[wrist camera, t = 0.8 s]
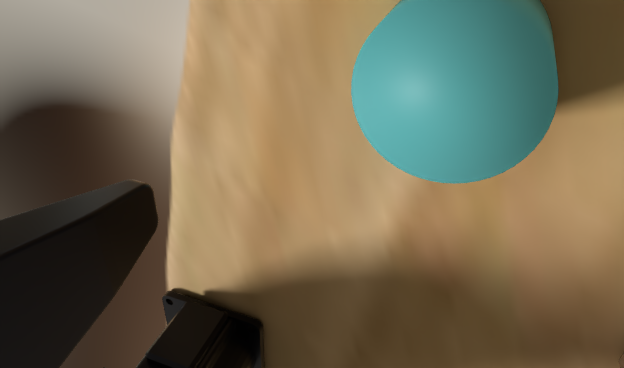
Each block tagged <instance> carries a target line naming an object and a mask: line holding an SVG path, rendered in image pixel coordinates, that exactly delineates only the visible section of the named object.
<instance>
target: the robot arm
mask: <svg viewBox="0 0 624 368" xmlns="http://www.w3.org/2000/svg"><path fill="white" fill-rule="evenodd" d="M157 225H158V214H157V209H156V203H155V197H154V192H153V189H152V187H151V186H150V185H149V184H147V183H144V182H140V181H136V180H125V181H122V182H119V183H116V184H113V185H109V186H106V187H103V188H100V189H97V190H94V191H91V192H87V193H84V194H81V195H78V196H75V197H72V198H69V199H65V200H62V201H59V202H56V203H53V204H49V205H46V206H43V207H40V208H37V209H33V210H30V211H27V212H24V213H21V214H18V215H15V216H11V217H8V218H5V219H2V220H0V368H59V367H60V366H61V365H62V364H63V362H64V361H65V360H66V358H67V357H68V356H69V355H70V353H71V352H72V351H73V349H74V348H75V347H76V346H77V344H78V343H79V342H80V340H81V339H82V338H83V337H84V335H85V334H86V333H87V331H88V330H89V329H90V327H91V326H92V325H93V324H94V322H95V321H96V320H97V319H98V317H99V316H100V315H101V313H102V312H103V311H104V309H105V308H106V307H107V305H108V304H109V303H110V301H111V300H112V299H113V297H114V296H115V295H116V293H117V292H118V290H119V289H120V287H121V286H122V284H123V282H124V281H125V279H126V277H127V276H128V274H129V273H130V271H131V270H132V268H133V266H134V265H135V263H136V261H137V260H138V258H139V257H140V255H141V254H142V252H143V250H144V249H145V247H146V246H147V244H148V242H149V241H150V239H151V237H152V236H153V234H154V233H155V231H156V228H157ZM162 300H163V305H164V310H165V315H166V320H167V326H166V328H165V329H164V330H163V332H162V333H161V334H160V336H159V337H158V338H157V339H156V341H155V342H154V343H153V345H152V346H151V347H150V348H149V350H148V351H147V352H146V355H145V356H144V358H143V359H142V360H141V362H140V363H139V364H138V366H137V367H136V368H264V344H263V326H262V324H261V322H260V321H258V320H257V319H254V318H251V317H248V316H245V315H242V314H239V313H236V312H233V311H230V310H227V309H224V308H221V307H218V306H215V305H212V304H209V303H206V302H203V301H200V300H197V299H194V298H190V297H187V296H184V295H181V294H178V293H175V292H172V291H168V292H167V293H166V294H165V295H164V296H163V299H162ZM104 368H105V367H104Z"/></svg>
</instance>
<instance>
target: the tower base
mask: <svg viewBox="0 0 624 368" xmlns="http://www.w3.org/2000/svg"><path fill="white" fill-rule="evenodd" d="M619 364H620V368H624V353H623V354H622V356H621V358H620V359H619Z"/></svg>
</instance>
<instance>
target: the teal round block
mask: <svg viewBox="0 0 624 368" xmlns="http://www.w3.org/2000/svg"><path fill="white" fill-rule="evenodd" d="M351 94H352V102H353V108H354V112H355V116H356V118H357V121H358V123H359V126H360V128H361V130H362V131H363V133H364V135H365V137H366V138H367V139H368V141H369V142H370V144H371V145H372V146H373V147H374V148H375V149H376V151H377V152H378V153H379V154H380V155H381V156H383V157H384V158H385V159H386V160H387V161H388V162H390V163H391V164H393V165H394V166H396V167H397V168H399V169H401V170H403V171H405V172H406V173H409V174H411V175H414V176H416V177H419V178H422V179H426V180H429V181H435V182H441V183H468V182H474V181H480V180H483V179H487V178H490V177H493V176H495V175H498V174H500V173H503V172H505V171H506V170H508V169H510V168H512V167H514V166H515V165H516V164H518V163H519V162H520V161H522V160H523V159H524V158H526V157H527V156H528V155H529V154H530V153H531V152H532V151H533V150H534V149H535V148H536V146H537V145H538V144H539V143H540V141H541V140H542V139H543V137H544V135H545V134H546V132H547V130H548V129H549V126H550V124H551V122H552V119H553V117H554V114H555V110H556V106H557V100H558V74H557V66H556V58H555V49H554V41H553V33H552V28H551V23H550V20H549V17H548V15H547V12H546V10H545V8H544V6H543V5H542V3H541V1H540V0H401V1H400V2H399V3H398V4H397V5H396V6H395V7H394V8H393V9H392V10H391V11H390V13H389V14H388V15H387V16H386V17H385V18H384V19H383V20H382V21H381V22H380V23H379V24H378V26H377V27H376V28H375V29H374V30H373V32H372V33H371V34H370V35H369V36H368V38H367V40H366V41H365V43H364V44H363V46H362V48H361V50H360V52H359V55H358V57H357V59H356V63H355V66H354V70H353V76H352V89H351Z"/></svg>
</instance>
